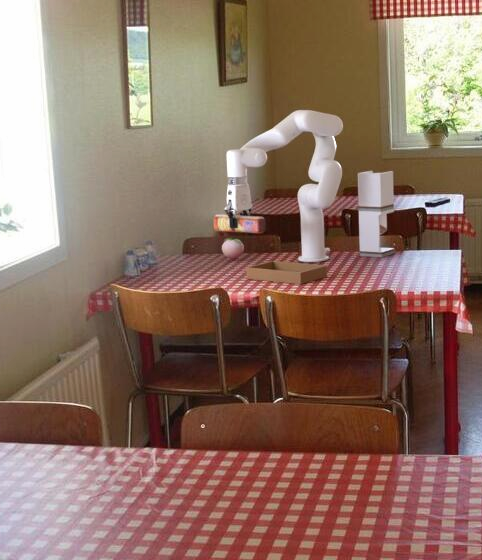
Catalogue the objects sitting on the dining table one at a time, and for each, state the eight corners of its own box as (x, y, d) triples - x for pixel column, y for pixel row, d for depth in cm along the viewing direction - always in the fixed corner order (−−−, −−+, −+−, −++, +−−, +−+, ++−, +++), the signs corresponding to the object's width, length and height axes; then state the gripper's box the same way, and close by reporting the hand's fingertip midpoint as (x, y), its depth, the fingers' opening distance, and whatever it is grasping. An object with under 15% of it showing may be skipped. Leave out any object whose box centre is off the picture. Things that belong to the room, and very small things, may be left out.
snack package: (267, 231, 389) (266, 214, 388) (258, 234, 383) (257, 216, 382) (221, 229, 399) (220, 213, 397) (212, 232, 393) (211, 215, 391)
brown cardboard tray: (273, 271, 390) (272, 260, 389) (326, 276, 376) (326, 265, 375) (246, 278, 376) (245, 267, 375) (300, 284, 362) (300, 272, 361)
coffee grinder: (381, 257, 416) (380, 173, 409) (359, 255, 421) (357, 173, 414) (394, 253, 425) (393, 171, 419) (372, 251, 431) (371, 170, 424)
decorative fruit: (218, 261, 417) (217, 237, 415) (227, 258, 424) (226, 235, 422) (238, 262, 413) (236, 238, 411) (247, 259, 420) (246, 235, 419)
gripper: (230, 183, 378) (232, 230, 381) (258, 179, 392) (260, 224, 396) (215, 183, 382) (217, 229, 386) (244, 179, 396) (246, 223, 400)
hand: (239, 226), depth 391 cm, fingers closed on snack package, 7 cm apart
